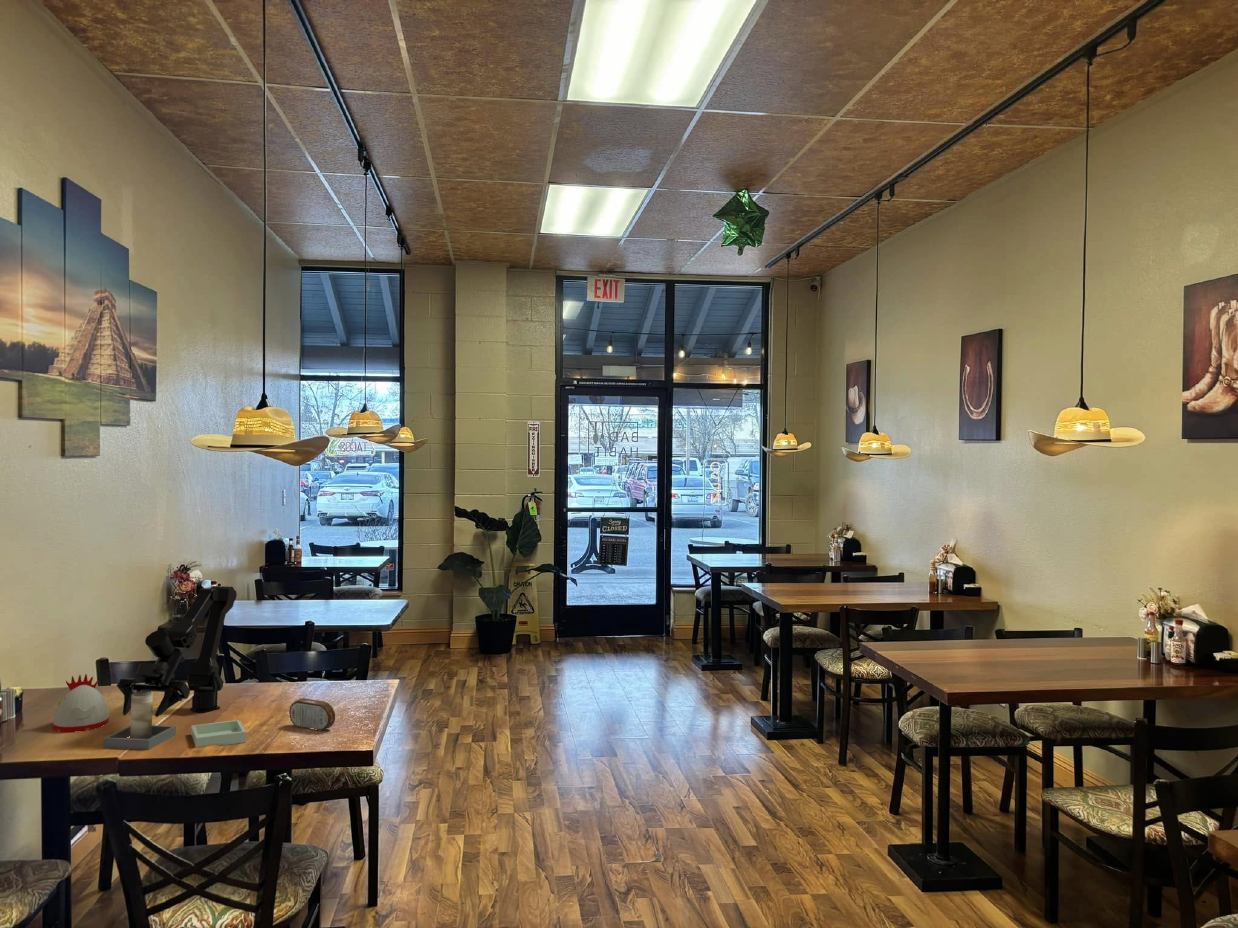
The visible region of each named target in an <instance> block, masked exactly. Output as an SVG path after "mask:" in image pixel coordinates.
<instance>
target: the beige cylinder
mask: <svg viewBox="0 0 1238 928" xmlns="http://www.w3.org/2000/svg"><path fill="white" fill-rule="evenodd" d="M153 705H154V692H153V691H138V692H135V693H133V694H132V696H131V709H130V722H129V723H130V725H129V726H130V738H132V739H150V738H151V735H152V725H153Z"/></svg>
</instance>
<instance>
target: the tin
mask: <svg viewBox="0 0 1238 928" xmlns="http://www.w3.org/2000/svg"><path fill="white" fill-rule="evenodd" d="M288 710H289V719H290V722H291V723H292V724H293V725H294V726H295V727H297V726H298V727H297V728H299V727H303V728H302V729H305V728H314V729H317V730H323V731H325V730H328V729H329V728H331V727H332V726H333V725H334V724H335V722H336V721H335V720H336V714H335V713H336V712H335V710H334V708H333V706H332V705H331V704H330V703H328V701H324V700H318V699H311V698H304V697H303V698H298V699H297V700H295V701H294V702H293V703H292V704H291V705H290V707H289V709H288ZM327 728H328V729H327ZM317 730H316V731H317Z"/></svg>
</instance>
